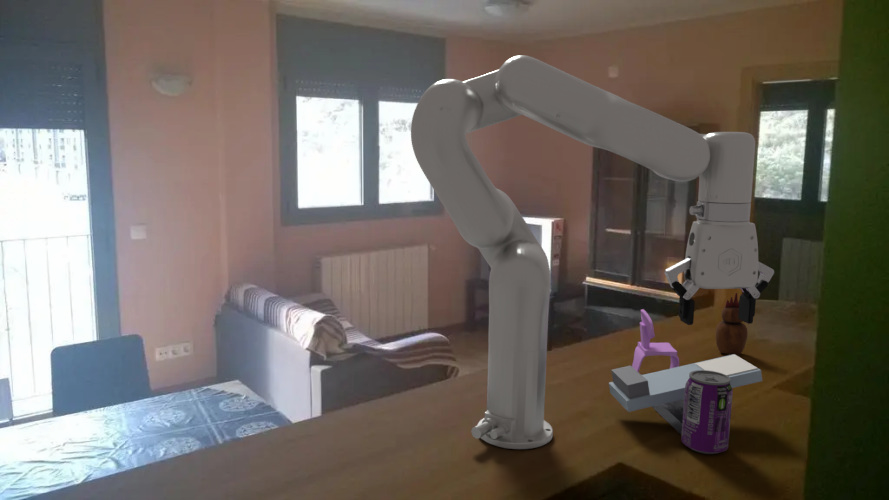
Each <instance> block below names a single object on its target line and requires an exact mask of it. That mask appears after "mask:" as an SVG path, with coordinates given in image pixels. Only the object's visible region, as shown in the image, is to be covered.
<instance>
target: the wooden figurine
mask: <svg viewBox="0 0 889 500" xmlns="http://www.w3.org/2000/svg"><path fill="white" fill-rule="evenodd" d="M741 295H743V291H741V294H740V296H741ZM738 299H739V298H738V293H737V292H736V293H735V295H734V297H732V296H731V297H730V299H729V300H728V299H726V302H725V305H724V307H723V308H722V310H721V314H720V315H721V319H722V320H721V321H719V322H718V324H717V325H716V327H715V343H716V347H717V349H718V351H719V352H720V353H721V354H724V355H726V356H728V355H732V354H735V355H737V356H739V355H741V354H742V352H743V351H744V349H745V346H746V344H747V339H748V332H749V331H748V328H747V326H746V325H745V324H744V323H743V322H744V321H742V320H740V319H739V318H738V313H739V300H738Z"/></svg>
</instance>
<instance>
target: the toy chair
mask: <svg viewBox="0 0 889 500" xmlns="http://www.w3.org/2000/svg"><path fill="white" fill-rule="evenodd" d="M640 318H641V321H640V322H639V330H640V332H639V333H640V341H637V346H636V347H635V350H634V354H633V361H632V364H631V366H632V367H633V368H634V369H635V370H636V371H637V372H639V373H640V369H641V366H642V363H643V362H644V360H645V358H646V357H649V356H650V357H651V356H666V357H670V366H669V369H671V368H675V367H679V366H680V358H679V356H678V351H677V350H676V349H675V348H674V346H672V345H671V343H670V342H651V339H653V338H655V337H656V335H655V330H654V323H653V320H652V318H651V317H650V314H648V312H647V311H646V310H645V309H644V308H643V309H640Z"/></svg>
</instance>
